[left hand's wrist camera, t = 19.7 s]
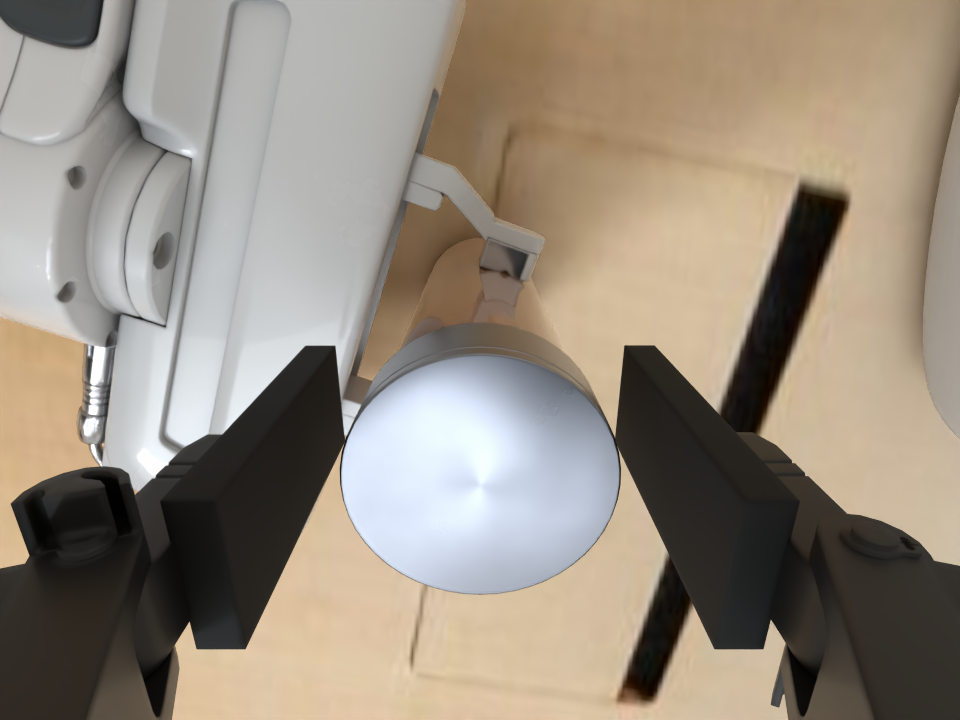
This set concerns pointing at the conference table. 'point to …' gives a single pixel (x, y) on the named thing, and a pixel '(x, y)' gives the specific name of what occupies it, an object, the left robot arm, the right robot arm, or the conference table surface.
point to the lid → (480, 461)
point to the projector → (945, 289)
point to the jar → (476, 297)
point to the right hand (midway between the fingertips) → (504, 340)
